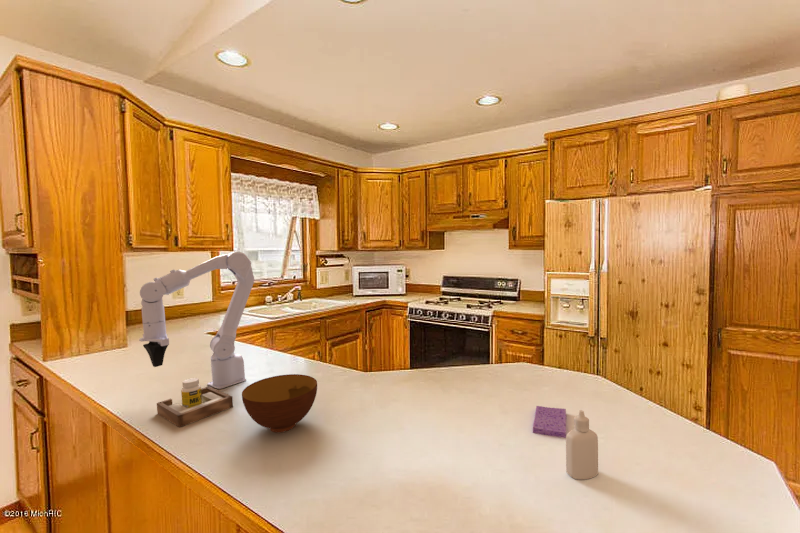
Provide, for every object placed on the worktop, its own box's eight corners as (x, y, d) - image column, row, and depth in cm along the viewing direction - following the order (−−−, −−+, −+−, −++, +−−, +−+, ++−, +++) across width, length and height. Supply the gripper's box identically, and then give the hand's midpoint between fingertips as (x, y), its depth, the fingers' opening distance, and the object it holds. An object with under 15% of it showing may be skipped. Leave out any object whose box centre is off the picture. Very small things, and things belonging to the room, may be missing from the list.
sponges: (532, 435, 84) (532, 426, 84) (536, 411, 96) (536, 404, 95) (566, 440, 81) (566, 432, 81) (566, 415, 93) (565, 408, 93)
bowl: (248, 453, 80) (245, 408, 79) (241, 420, 96) (238, 382, 95) (327, 432, 88) (325, 390, 87) (309, 404, 104) (307, 369, 103)
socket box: (209, 395, 113) (208, 386, 113) (232, 406, 104) (232, 396, 104) (157, 413, 102) (156, 403, 102) (179, 427, 93) (178, 415, 93)
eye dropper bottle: (564, 465, 72) (563, 404, 71) (596, 468, 70) (595, 407, 69) (567, 479, 67) (566, 415, 67) (601, 483, 66) (601, 417, 65)
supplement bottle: (190, 414, 100) (188, 384, 100) (178, 412, 102) (176, 382, 102) (205, 407, 105) (204, 378, 104) (194, 404, 107) (192, 376, 106)
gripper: (130, 321, 113) (133, 365, 114) (148, 326, 104) (152, 374, 105) (156, 317, 118) (159, 359, 119) (175, 322, 110) (178, 367, 110)
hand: (157, 365), depth 112 cm, fingers closed
